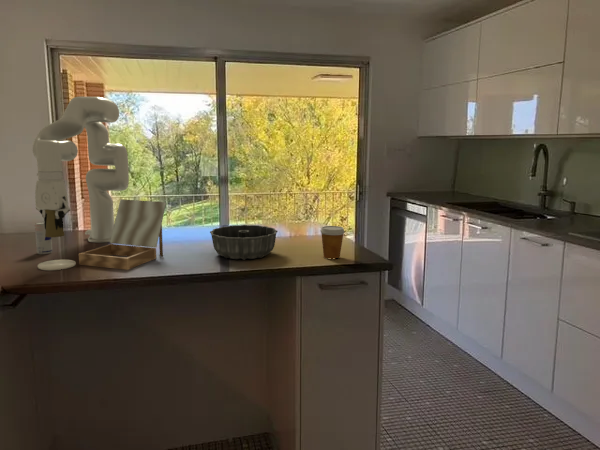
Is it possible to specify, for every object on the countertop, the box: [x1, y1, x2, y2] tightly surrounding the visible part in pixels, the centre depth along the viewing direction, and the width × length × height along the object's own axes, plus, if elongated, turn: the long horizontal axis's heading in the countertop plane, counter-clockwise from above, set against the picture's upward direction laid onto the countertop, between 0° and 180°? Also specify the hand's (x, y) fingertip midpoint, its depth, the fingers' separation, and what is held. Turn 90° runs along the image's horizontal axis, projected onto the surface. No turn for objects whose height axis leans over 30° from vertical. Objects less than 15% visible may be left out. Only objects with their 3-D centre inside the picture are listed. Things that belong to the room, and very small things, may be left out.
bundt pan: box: [209, 224, 278, 261], centre depth 192 cm, size 26×26×10 cm
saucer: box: [37, 259, 76, 271], centre depth 171 cm, size 12×12×1 cm
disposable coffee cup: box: [320, 225, 345, 260], centre depth 190 cm, size 10×10×12 cm
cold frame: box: [78, 198, 167, 271], centre depth 181 cm, size 20×25×21 cm
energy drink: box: [34, 221, 53, 255], centre depth 189 cm, size 5×5×12 cm
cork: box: [45, 208, 65, 238], centre depth 168 cm, size 6×6×11 cm
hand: (54, 228), depth 169 cm, fingers closed on cork, 3 cm apart
